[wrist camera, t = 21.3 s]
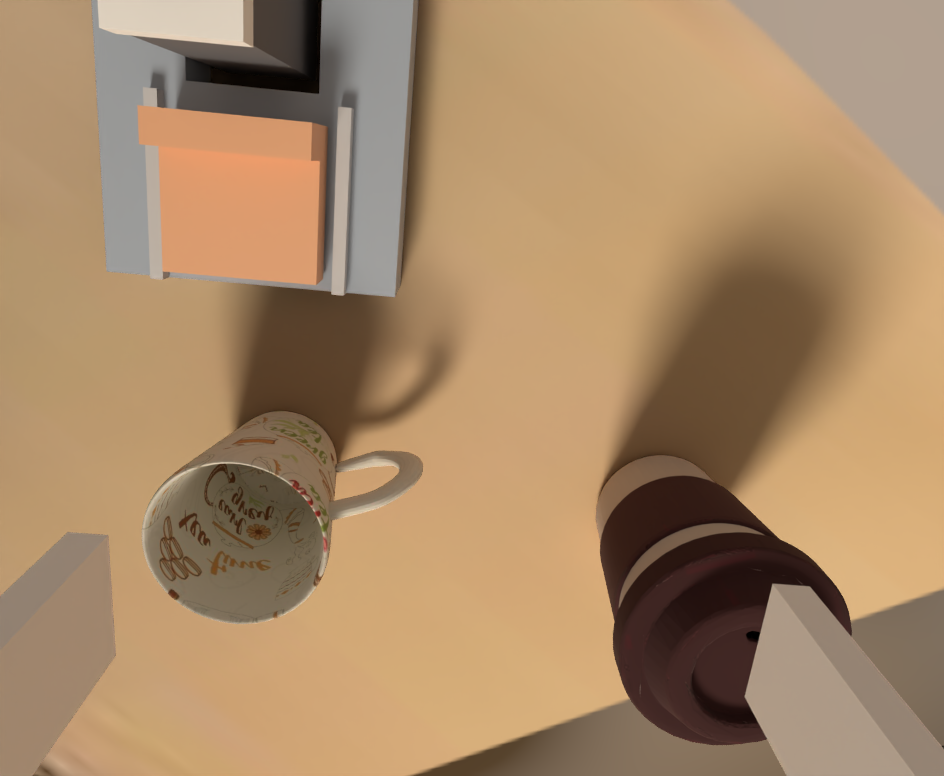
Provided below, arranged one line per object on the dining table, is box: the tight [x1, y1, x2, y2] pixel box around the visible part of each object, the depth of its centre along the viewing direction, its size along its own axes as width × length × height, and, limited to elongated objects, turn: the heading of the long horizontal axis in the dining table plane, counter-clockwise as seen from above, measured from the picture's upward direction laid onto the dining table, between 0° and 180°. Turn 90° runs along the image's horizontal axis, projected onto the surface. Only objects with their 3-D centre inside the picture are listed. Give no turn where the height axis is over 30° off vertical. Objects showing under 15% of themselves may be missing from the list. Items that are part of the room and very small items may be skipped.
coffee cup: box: [596, 455, 852, 745], centre depth 36 cm, size 10×10×15 cm
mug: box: [142, 411, 423, 624], centre depth 37 cm, size 8×13×10 cm, turn 104°
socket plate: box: [92, 0, 419, 297], centre depth 34 cm, size 14×18×4 cm
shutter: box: [137, 105, 328, 285], centre depth 32 cm, size 7×7×4 cm
